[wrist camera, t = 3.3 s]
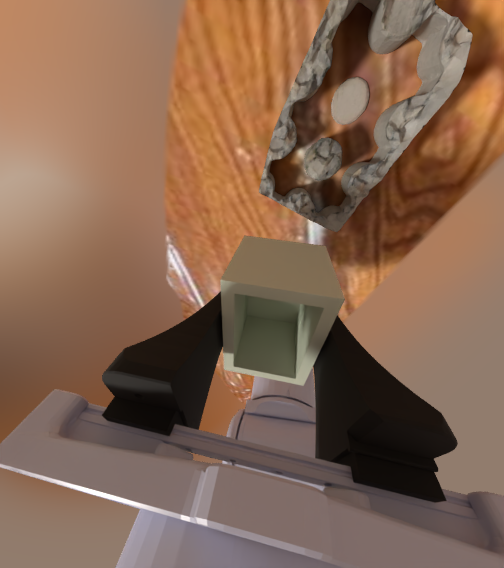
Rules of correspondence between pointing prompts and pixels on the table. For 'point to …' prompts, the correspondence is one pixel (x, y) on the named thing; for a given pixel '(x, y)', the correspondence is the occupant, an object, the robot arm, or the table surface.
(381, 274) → the table surface
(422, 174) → the table surface
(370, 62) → the table surface
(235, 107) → the table surface
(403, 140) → the egg carton
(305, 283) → the box
